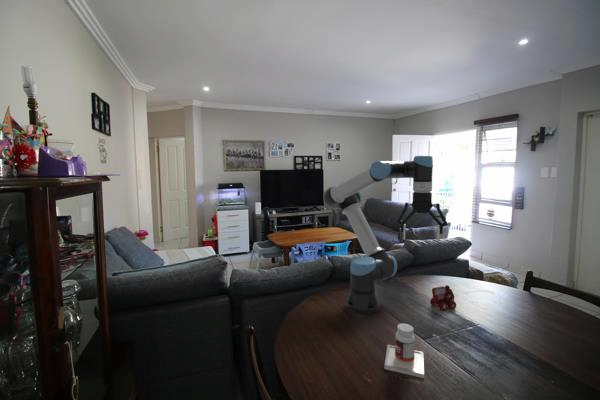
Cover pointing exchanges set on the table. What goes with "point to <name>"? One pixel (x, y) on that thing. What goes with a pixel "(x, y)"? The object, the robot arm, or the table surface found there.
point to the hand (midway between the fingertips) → (420, 240)
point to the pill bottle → (405, 344)
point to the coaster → (410, 369)
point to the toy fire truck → (443, 298)
